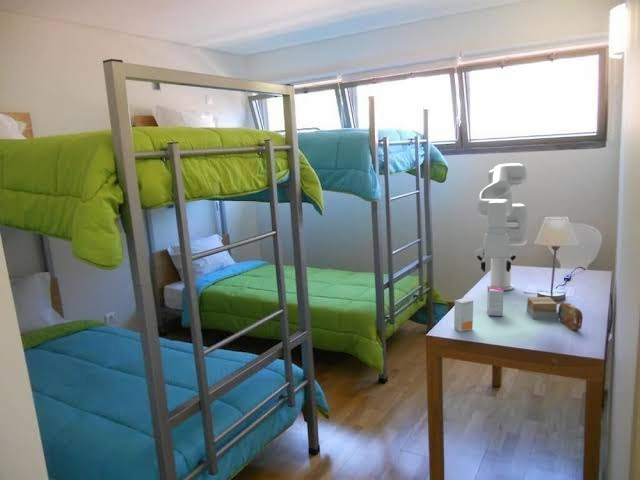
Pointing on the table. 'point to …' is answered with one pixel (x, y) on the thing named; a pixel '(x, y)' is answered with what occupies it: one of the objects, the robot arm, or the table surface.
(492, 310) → the supplement box
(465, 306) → the skincare box
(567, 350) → the table surface
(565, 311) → the tin
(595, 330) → the table surface
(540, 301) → the tower top
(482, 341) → the table surface
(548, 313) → the tower base
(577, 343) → the table surface
